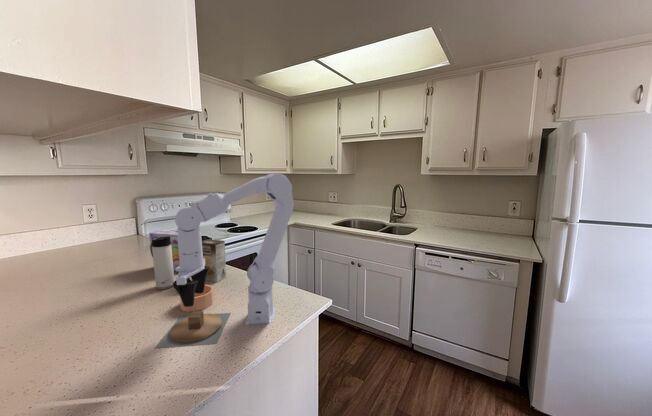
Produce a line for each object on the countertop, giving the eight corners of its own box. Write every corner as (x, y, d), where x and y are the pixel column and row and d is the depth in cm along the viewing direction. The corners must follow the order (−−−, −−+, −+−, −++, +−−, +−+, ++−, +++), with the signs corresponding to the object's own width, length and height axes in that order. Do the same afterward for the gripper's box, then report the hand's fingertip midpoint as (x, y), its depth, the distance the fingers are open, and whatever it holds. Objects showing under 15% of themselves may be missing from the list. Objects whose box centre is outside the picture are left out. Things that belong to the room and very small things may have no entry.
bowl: (208, 312, 84) (207, 297, 83) (175, 314, 83) (174, 299, 82) (217, 297, 94) (217, 284, 93) (188, 299, 93) (187, 285, 92)
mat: (216, 345, 67) (216, 343, 67) (154, 350, 66) (154, 348, 66) (231, 314, 82) (231, 312, 82) (180, 317, 81) (180, 316, 81)
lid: (213, 341, 68) (212, 326, 68) (160, 345, 67) (159, 329, 66) (226, 314, 81) (225, 301, 80) (182, 317, 80) (181, 304, 79)
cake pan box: (151, 268, 123) (147, 231, 121) (161, 264, 128) (157, 229, 125) (181, 273, 116) (178, 234, 114) (191, 269, 121) (188, 232, 119)
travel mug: (166, 290, 99) (162, 239, 97) (152, 289, 101) (146, 238, 98) (179, 283, 105) (175, 235, 103) (165, 282, 107) (160, 234, 104)
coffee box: (198, 280, 109) (195, 242, 107) (209, 274, 115) (206, 238, 113) (217, 282, 106) (214, 244, 104) (227, 276, 113) (225, 240, 110)
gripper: (186, 244, 78) (189, 288, 80) (161, 260, 63) (166, 313, 65) (211, 243, 78) (214, 287, 80) (192, 259, 64) (196, 311, 66)
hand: (194, 298), depth 73 cm, fingers open, 7 cm apart
